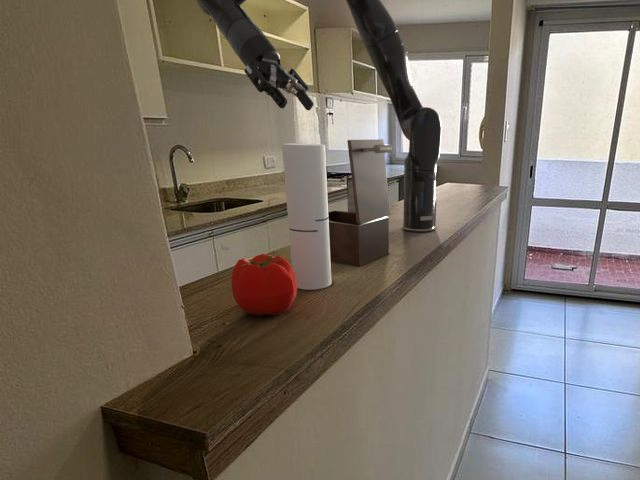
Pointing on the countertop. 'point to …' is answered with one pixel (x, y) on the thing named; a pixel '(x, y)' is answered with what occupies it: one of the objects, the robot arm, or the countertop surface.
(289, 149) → the cylindrical container
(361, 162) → the lid
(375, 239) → the chest
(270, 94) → the robot arm
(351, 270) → the countertop surface
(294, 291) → the tomato
